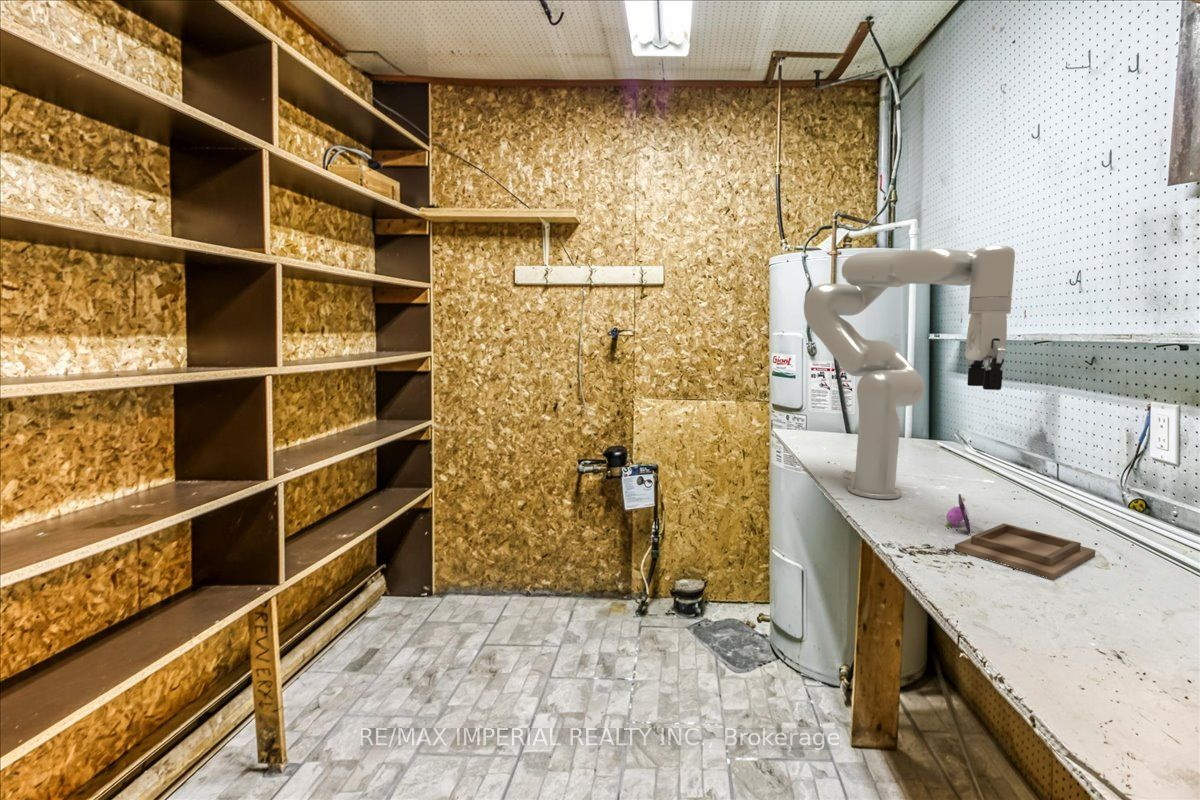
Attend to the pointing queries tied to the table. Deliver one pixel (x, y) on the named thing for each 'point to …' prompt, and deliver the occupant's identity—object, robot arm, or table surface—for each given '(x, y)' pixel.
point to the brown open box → (1026, 550)
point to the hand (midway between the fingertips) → (983, 387)
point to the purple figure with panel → (959, 514)
